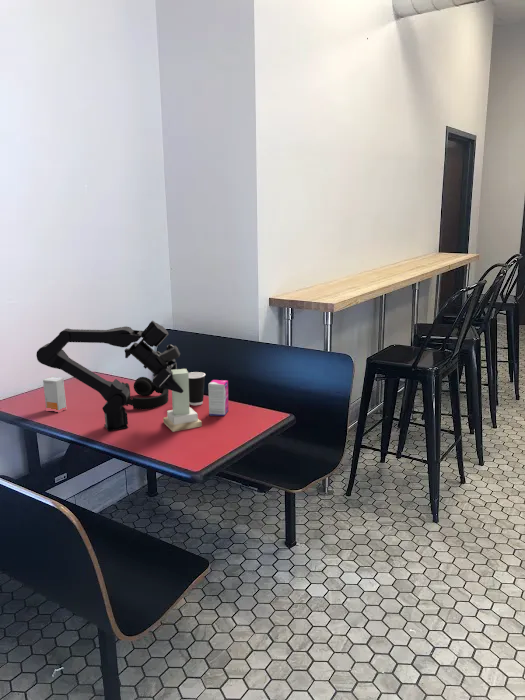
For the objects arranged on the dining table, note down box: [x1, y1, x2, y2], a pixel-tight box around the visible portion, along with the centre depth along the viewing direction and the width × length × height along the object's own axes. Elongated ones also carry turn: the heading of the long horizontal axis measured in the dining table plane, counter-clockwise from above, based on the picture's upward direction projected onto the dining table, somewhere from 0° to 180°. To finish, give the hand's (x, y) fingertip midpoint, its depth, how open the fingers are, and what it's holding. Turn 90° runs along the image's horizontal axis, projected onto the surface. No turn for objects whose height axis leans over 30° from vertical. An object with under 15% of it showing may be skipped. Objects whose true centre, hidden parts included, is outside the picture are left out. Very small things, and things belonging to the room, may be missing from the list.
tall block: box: [171, 368, 190, 415], centre depth 192 cm, size 5×5×14 cm
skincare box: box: [42, 376, 67, 410], centre depth 212 cm, size 6×4×12 cm
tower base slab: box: [162, 416, 203, 433], centre depth 195 cm, size 10×10×2 cm
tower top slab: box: [166, 406, 199, 425], centre depth 195 cm, size 8×8×2 cm
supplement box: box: [208, 379, 229, 417], centre depth 204 cm, size 6×6×12 cm
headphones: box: [121, 376, 170, 410], centre depth 220 cm, size 18×8×20 cm
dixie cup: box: [188, 371, 206, 406], centre depth 216 cm, size 8×8×11 cm
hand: (183, 388), depth 192 cm, fingers open, 9 cm apart
